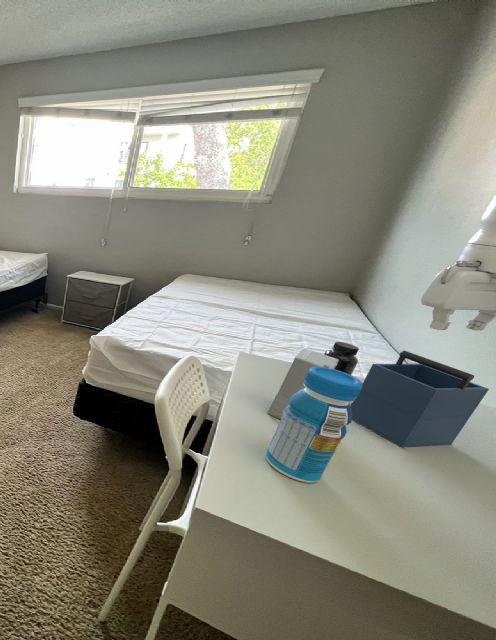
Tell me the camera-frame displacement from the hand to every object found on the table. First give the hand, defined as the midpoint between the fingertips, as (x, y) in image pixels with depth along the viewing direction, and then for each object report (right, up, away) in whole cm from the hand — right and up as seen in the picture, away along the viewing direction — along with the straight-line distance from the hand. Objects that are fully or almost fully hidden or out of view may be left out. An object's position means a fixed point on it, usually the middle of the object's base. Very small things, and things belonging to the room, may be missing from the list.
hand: (455, 329), depth 71 cm
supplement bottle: (+2, -16, +29) cm, 33 cm away
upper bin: (-1, -17, +7) cm, 18 cm away
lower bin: (-1, -23, +9) cm, 25 cm away
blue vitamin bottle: (-38, -26, -5) cm, 46 cm away
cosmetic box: (-24, -21, +11) cm, 34 cm away
